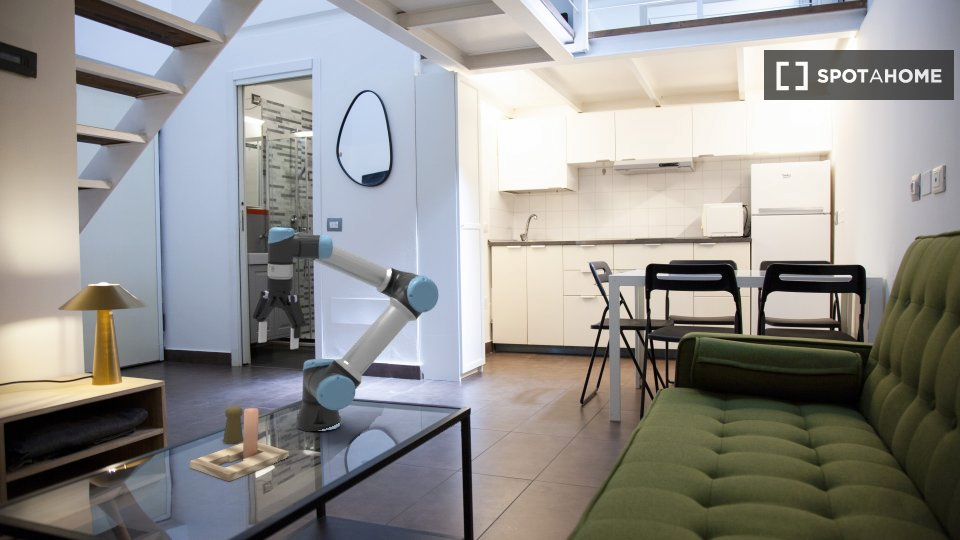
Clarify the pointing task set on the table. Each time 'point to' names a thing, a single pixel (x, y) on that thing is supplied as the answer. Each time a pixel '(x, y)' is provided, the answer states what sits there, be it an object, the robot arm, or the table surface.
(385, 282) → the robot arm
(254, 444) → the peg
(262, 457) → the keyhole board
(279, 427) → the table surface
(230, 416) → the cork
